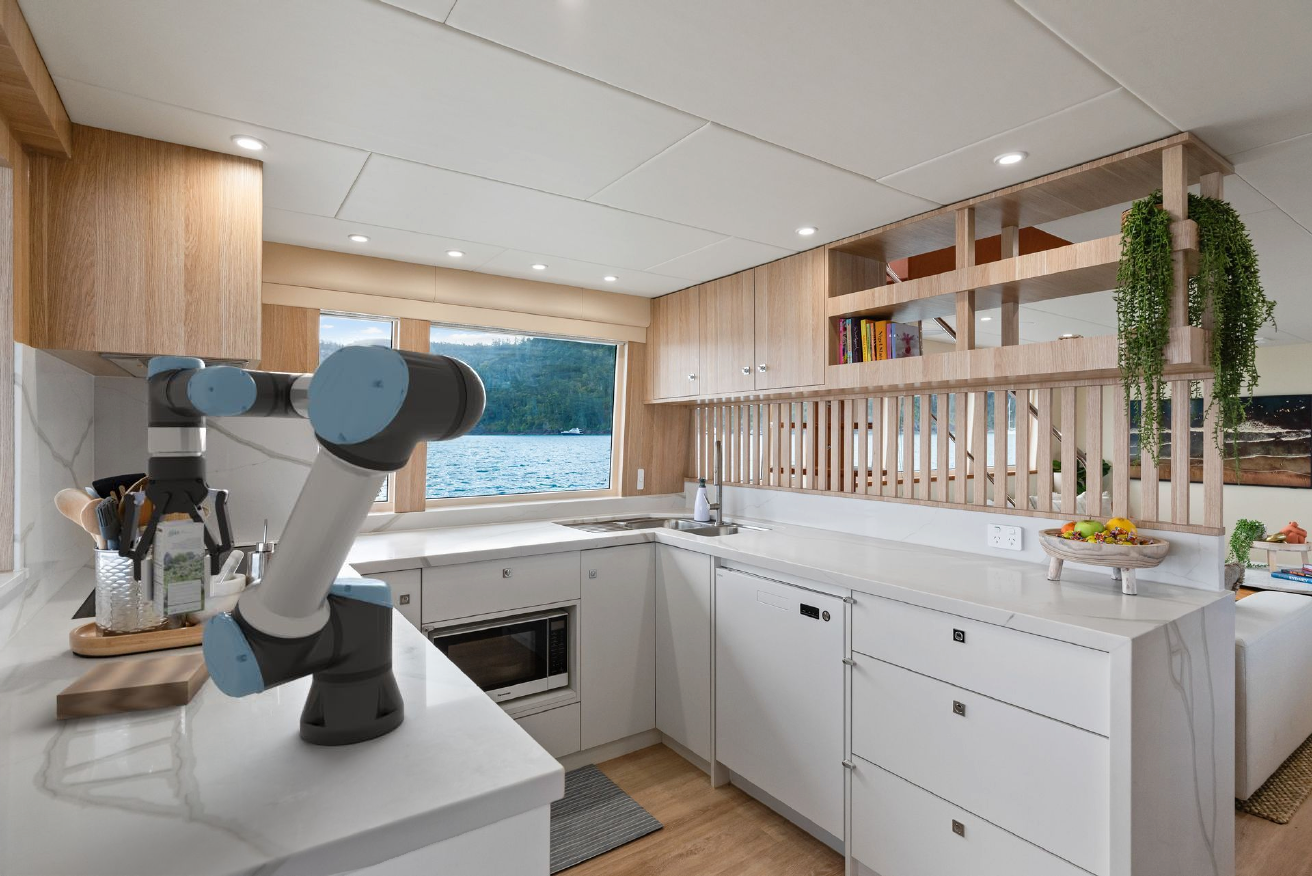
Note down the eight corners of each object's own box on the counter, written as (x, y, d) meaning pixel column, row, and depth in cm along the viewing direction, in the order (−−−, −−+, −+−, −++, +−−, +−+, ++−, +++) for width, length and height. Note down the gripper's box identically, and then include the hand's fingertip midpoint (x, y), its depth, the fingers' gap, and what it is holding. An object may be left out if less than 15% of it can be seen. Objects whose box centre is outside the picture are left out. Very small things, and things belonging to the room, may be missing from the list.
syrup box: (193, 605, 111) (193, 517, 111) (206, 611, 107) (205, 520, 107) (151, 612, 107) (150, 521, 106) (163, 618, 103) (162, 524, 103)
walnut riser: (212, 672, 130) (212, 652, 130) (188, 703, 115) (188, 680, 115) (98, 685, 124) (98, 663, 124) (56, 720, 109) (56, 695, 109)
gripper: (256, 453, 114) (257, 587, 114) (108, 455, 107) (109, 598, 107) (246, 454, 107) (248, 597, 107) (87, 456, 100) (89, 610, 100)
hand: (178, 598), depth 107 cm, fingers closed on syrup box, 8 cm apart
